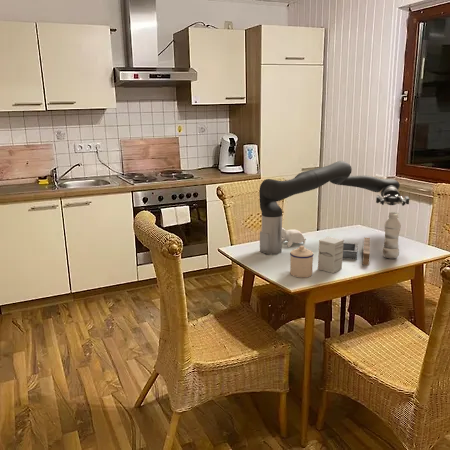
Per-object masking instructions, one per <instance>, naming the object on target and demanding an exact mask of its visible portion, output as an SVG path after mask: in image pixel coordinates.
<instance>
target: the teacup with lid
mask: <svg viewBox="0 0 450 450" xmlns="http://www.w3.org/2000/svg"><path fill="white" fill-rule="evenodd" d="M289 255H290V264H289V265H290V266H289V267H290V268H289V269H290V270H289V271H290V275H291V276H293V277H295V278H300V279H301V278H302V279H304V278H310V277H311V276H312V275H313V263H314V262H313V261H314V252H313V250H310V249H307V248H306V247H305V245H300V246H299V247H298V248H295V249H292V250H291V251H290V252H289Z"/></svg>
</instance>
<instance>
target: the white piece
mask: <svg viewBox="0 0 450 450" xmlns="http://www.w3.org/2000/svg"><path fill="white" fill-rule="evenodd" d="M306 241H307V239H306V238H305V236H304V235H303V233H302V232H301V231H300V230H298V229H285V228H284V227H282V243H285V242H287V244H286V246H287V247H288V248H290V247H292V245H293V244H301V243H302V244H303V245H305V243H306Z"/></svg>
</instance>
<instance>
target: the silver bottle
mask: <svg viewBox="0 0 450 450" xmlns="http://www.w3.org/2000/svg"><path fill="white" fill-rule="evenodd" d="M398 218H399V213H398V212H396V211H395V212H393V211H392V212H389V213H388V219H387V220H386V221H385V223H384V243H383V244H384V245H383V248H382V256H383V257H384V258H386V259H396V258H398V257H399V253H400V249H399V236H400V231H401V226H402V225H401V222H400V221H399V219H398Z"/></svg>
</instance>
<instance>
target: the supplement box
mask: <svg viewBox="0 0 450 450" xmlns="http://www.w3.org/2000/svg"><path fill="white" fill-rule="evenodd" d="M344 241H345V240H344V239H340V238H335V237H332V236H326V237H323V238H321V239H319V240H318V258H317V259H318V260H317V270H320V271H324V272H327V273H331V274H334V273H336V272H339V271H340V270H342V267H343V259H344V258H343V243H345V242H344Z"/></svg>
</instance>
